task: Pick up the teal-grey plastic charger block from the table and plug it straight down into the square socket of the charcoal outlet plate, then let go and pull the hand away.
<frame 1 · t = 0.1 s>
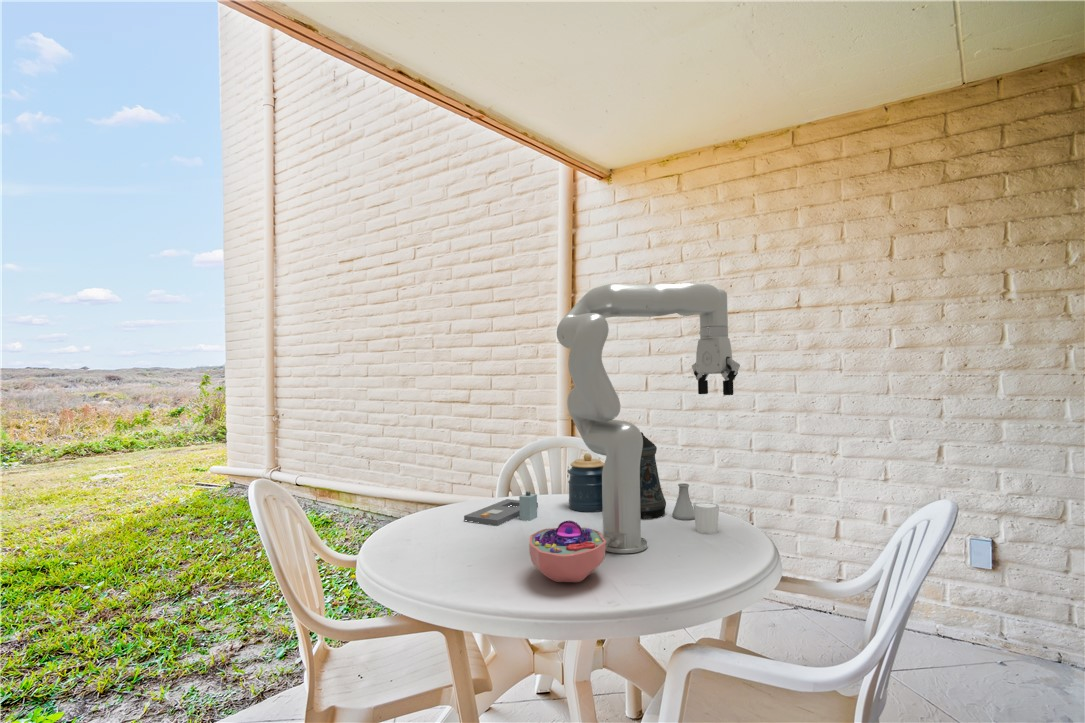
hand: (715, 394, 155), 37 cm above the table, tool pointing down, fingers open, 9 cm apart
flask: (684, 518, 166), on the table
beer stein: (637, 514, 171), on the table
charger: (528, 518, 168), on the table
canister: (588, 508, 180), on the table
cell model: (567, 578, 119), on the table
outlet plate: (502, 514, 174), on the table
shot glass: (706, 531, 152), on the table
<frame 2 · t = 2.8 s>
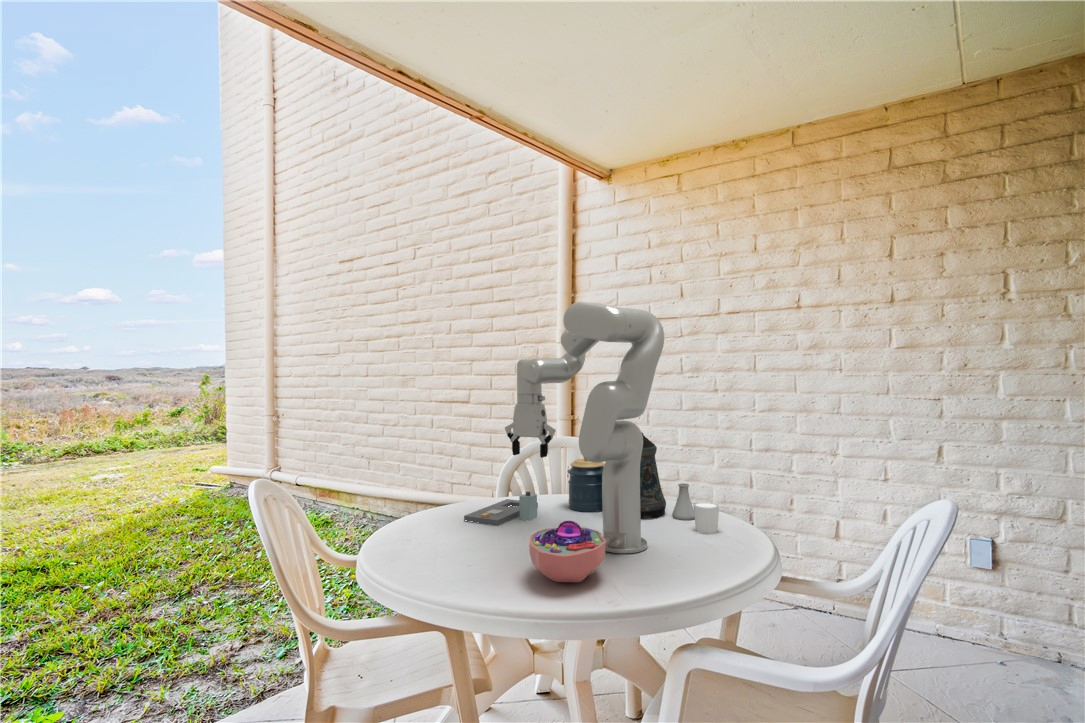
hand: (529, 455, 168), 19 cm above the table, tool pointing down, fingers open, 9 cm apart
nothing on the table moved.
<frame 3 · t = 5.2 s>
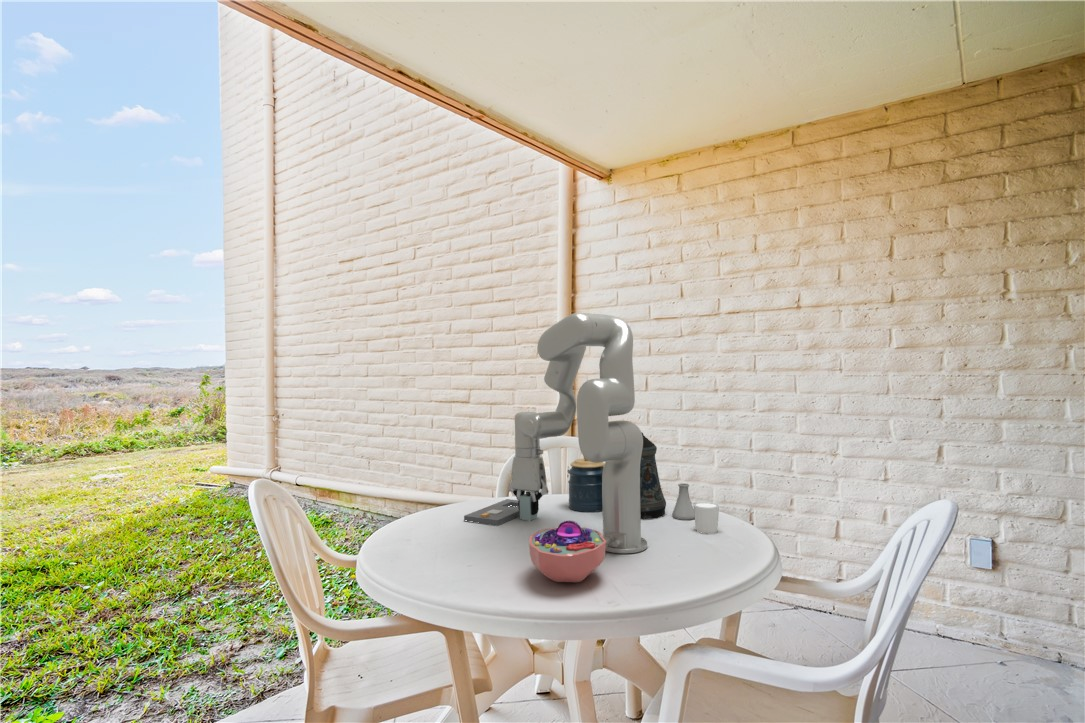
hand: (528, 512, 168), 2 cm above the table, tool pointing down, fingers closed on charger, 3 cm apart
charger: (528, 518, 168), on the table, touching gripper
everything else where it was.
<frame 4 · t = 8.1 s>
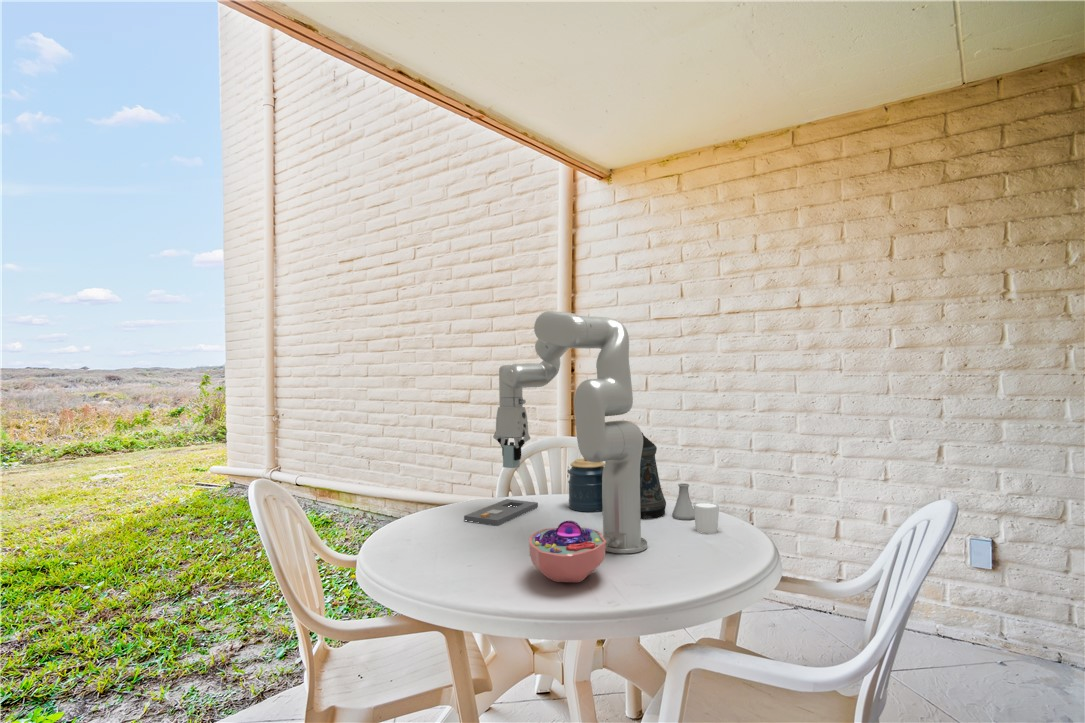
hand: (511, 458, 179), 16 cm above the table, tool pointing down, fingers closed on charger, 3 cm apart
charger: (511, 467, 179), point 14 cm above the table, touching gripper
everything else where it was.
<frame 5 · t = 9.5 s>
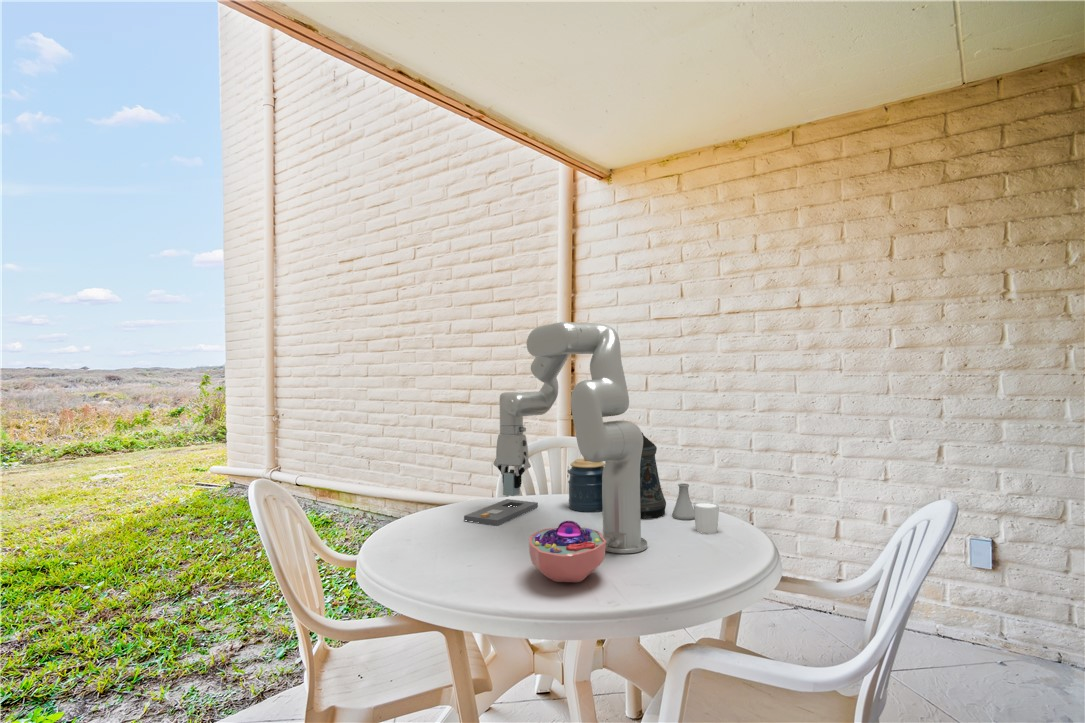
hand: (512, 486, 179), 7 cm above the table, tool pointing down, fingers closed on charger, 3 cm apart
charger: (511, 494, 179), point 5 cm above the table, touching gripper
everything else where it was.
when the fingers open (3 cm above the table, at t = 10.8 s): charger stays where it is, resting in outlet plate.
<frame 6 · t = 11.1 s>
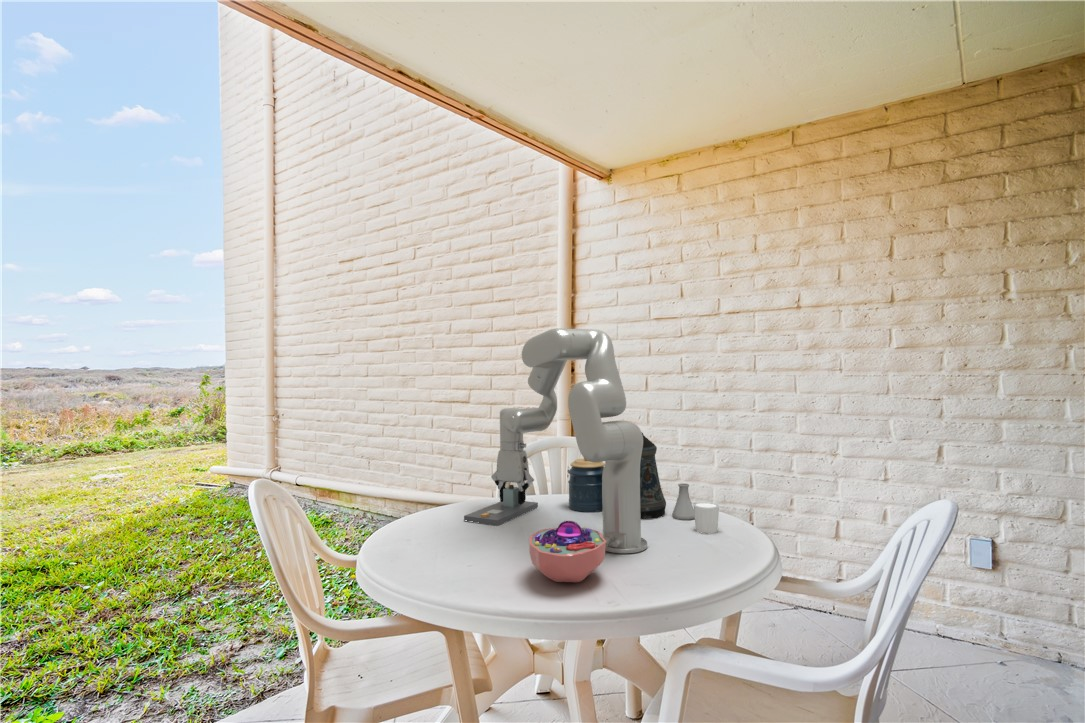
hand: (512, 501, 179), 3 cm above the table, tool pointing down, fingers open, 6 cm apart
charger: (511, 510, 179), resting in outlet plate
everything else where it was.
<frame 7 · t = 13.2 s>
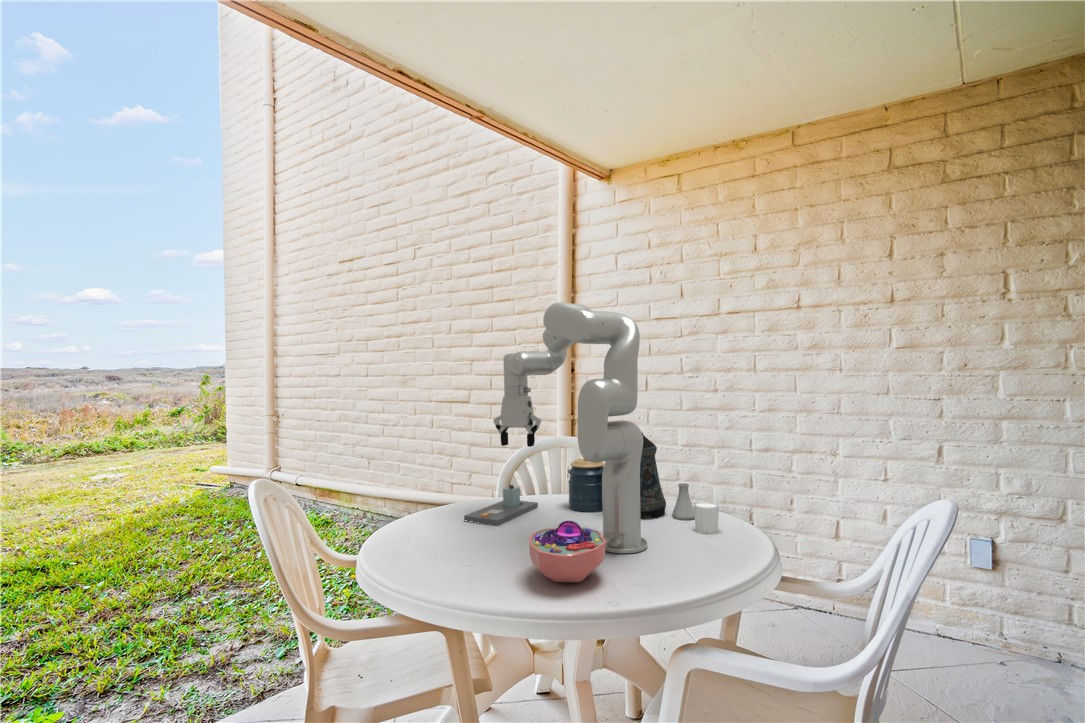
hand: (517, 445, 176), 21 cm above the table, tool pointing down, fingers open, 9 cm apart
nothing on the table moved.
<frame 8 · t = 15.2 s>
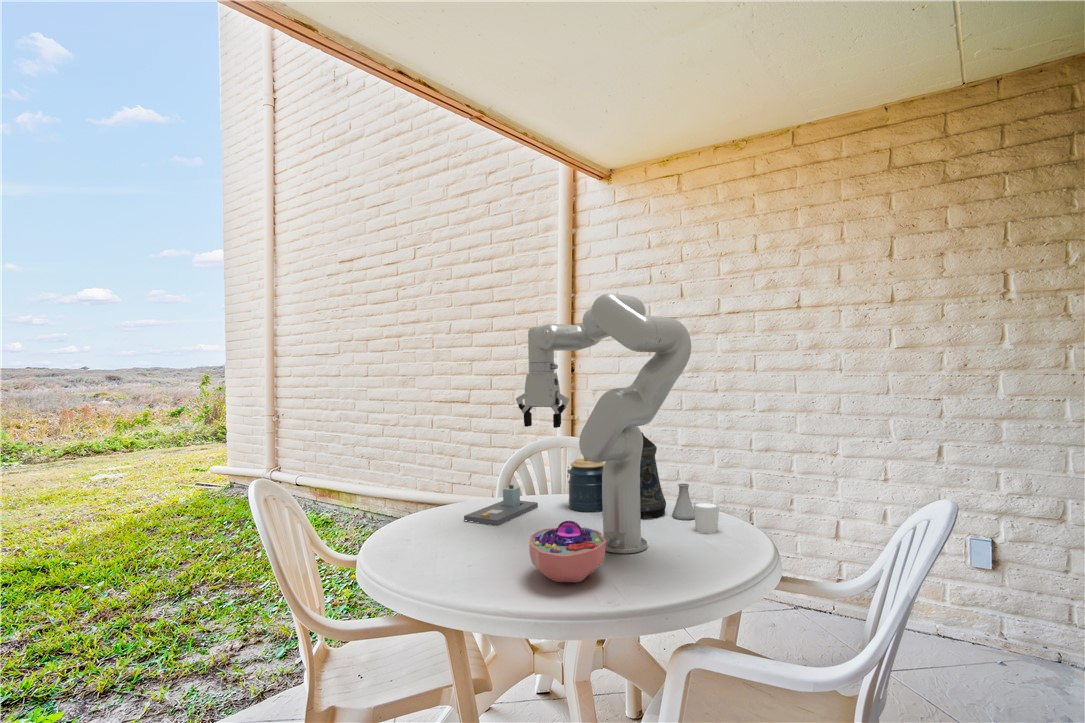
hand: (542, 426, 163), 28 cm above the table, tool pointing down, fingers open, 9 cm apart
nothing on the table moved.
at the end: charger 0.4 cm from the target spot on the outlet plate, point 0.0 cm above the outlet plate's base; charger tilted 0°; the gripper is holding nothing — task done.
